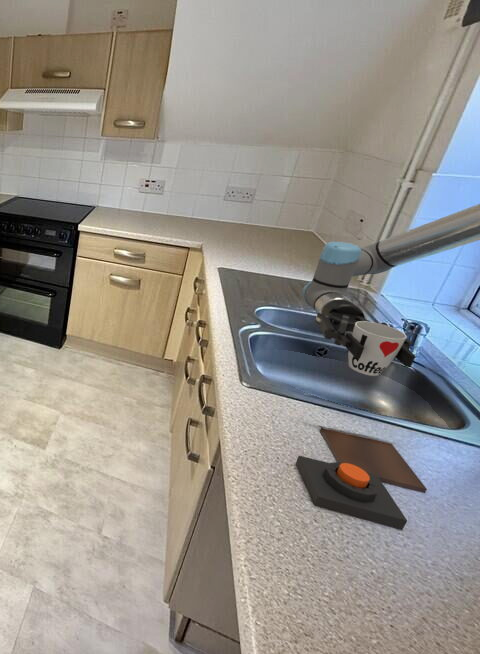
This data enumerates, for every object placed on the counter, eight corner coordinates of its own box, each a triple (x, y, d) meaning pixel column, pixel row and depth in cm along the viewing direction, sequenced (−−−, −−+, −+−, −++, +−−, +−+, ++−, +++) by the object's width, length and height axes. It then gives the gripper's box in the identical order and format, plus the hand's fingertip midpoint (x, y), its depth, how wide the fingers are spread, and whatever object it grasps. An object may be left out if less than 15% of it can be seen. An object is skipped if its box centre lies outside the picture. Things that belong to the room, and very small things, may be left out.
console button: (359, 474, 74) (363, 466, 73) (370, 491, 70) (374, 484, 70) (332, 467, 75) (335, 460, 75) (342, 484, 72) (345, 476, 71)
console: (372, 483, 77) (380, 467, 75) (402, 530, 68) (412, 512, 66) (295, 463, 81) (301, 447, 79) (314, 505, 72) (321, 488, 70)
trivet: (389, 447, 85) (391, 443, 85) (425, 493, 75) (427, 489, 74) (319, 431, 89) (321, 427, 89) (343, 472, 79) (345, 468, 78)
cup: (339, 369, 92) (354, 329, 88) (341, 355, 97) (355, 317, 94) (389, 384, 87) (407, 343, 83) (388, 369, 92) (405, 329, 89)
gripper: (384, 333, 104) (442, 383, 84) (287, 318, 110) (319, 361, 91) (395, 306, 101) (458, 352, 81) (295, 292, 108) (330, 331, 88)
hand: (384, 357), depth 86 cm, fingers closed on cup, 8 cm apart
